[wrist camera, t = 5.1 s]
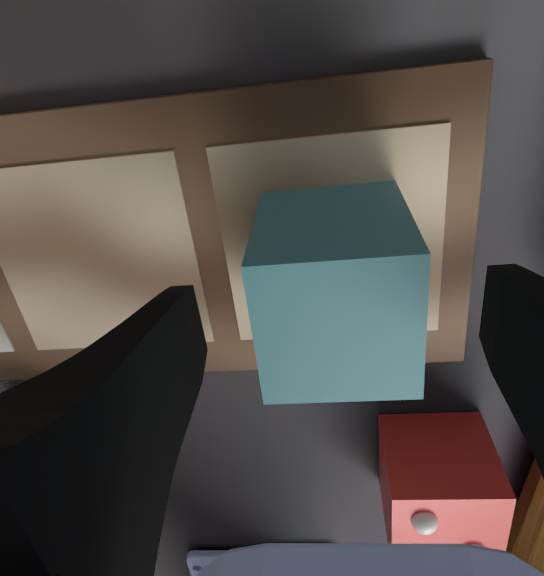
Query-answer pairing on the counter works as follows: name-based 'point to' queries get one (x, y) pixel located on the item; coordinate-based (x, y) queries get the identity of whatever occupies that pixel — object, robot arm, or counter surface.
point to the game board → (223, 199)
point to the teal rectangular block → (337, 295)
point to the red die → (443, 481)
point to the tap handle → (529, 522)
